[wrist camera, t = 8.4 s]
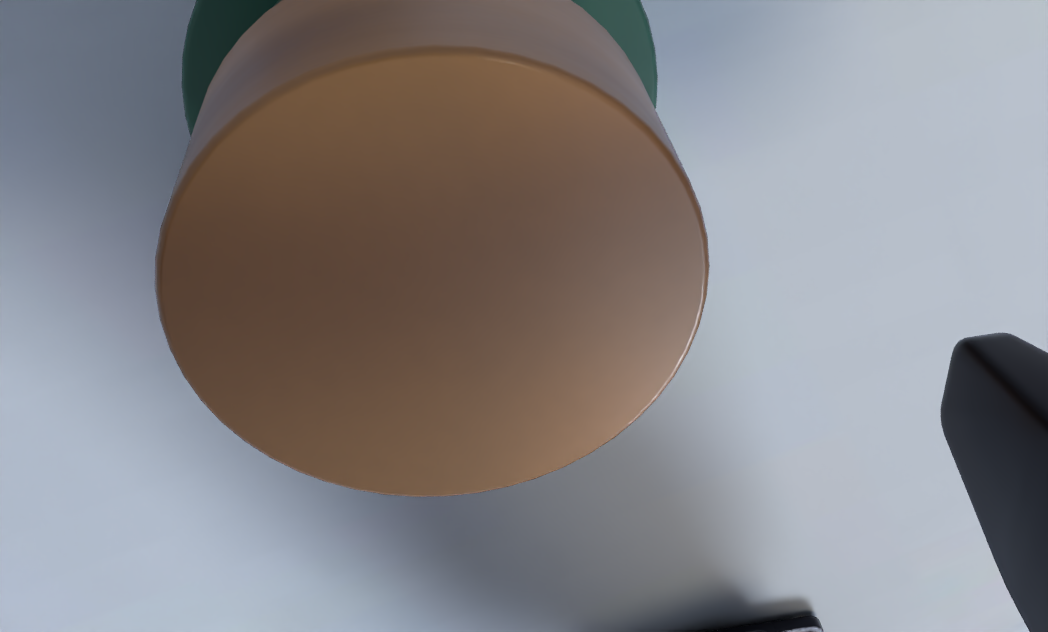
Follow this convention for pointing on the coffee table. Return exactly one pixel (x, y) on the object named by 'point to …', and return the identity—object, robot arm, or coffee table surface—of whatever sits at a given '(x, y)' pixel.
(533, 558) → the coffee table surface
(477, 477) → the cylinder
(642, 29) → the bottle
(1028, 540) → the robot arm
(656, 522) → the coffee table surface
